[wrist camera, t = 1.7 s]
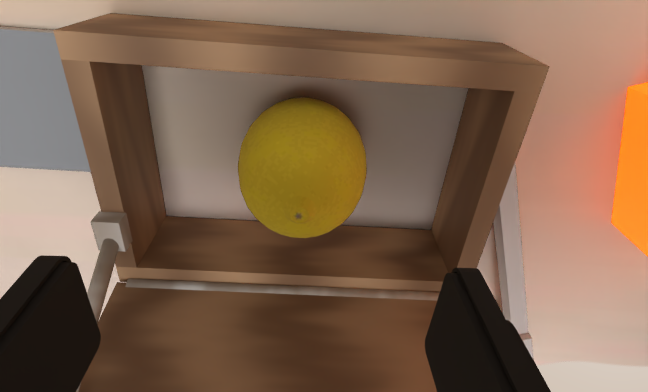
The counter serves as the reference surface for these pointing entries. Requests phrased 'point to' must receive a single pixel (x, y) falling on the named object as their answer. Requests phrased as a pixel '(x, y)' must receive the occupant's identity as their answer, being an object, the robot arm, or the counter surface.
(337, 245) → the case
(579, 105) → the counter surface
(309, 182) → the lemon
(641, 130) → the orange juice
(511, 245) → the caliper
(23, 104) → the coaster
